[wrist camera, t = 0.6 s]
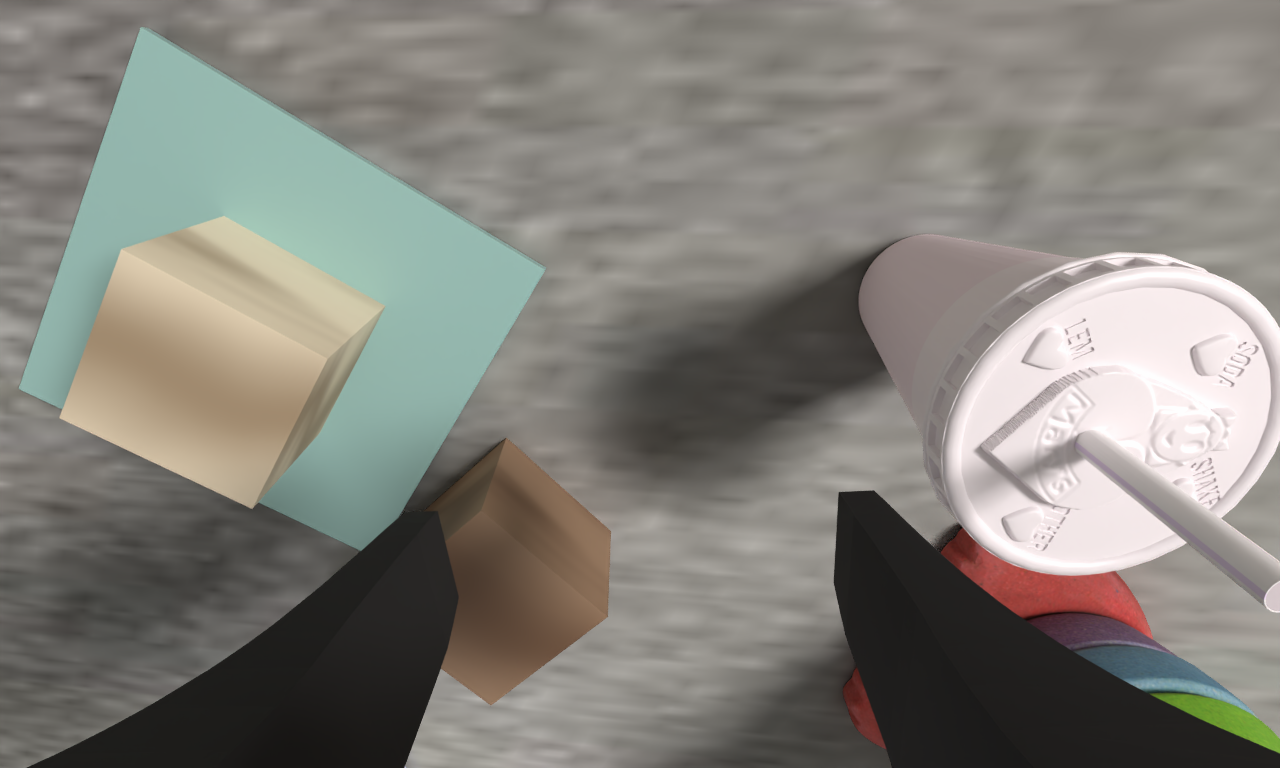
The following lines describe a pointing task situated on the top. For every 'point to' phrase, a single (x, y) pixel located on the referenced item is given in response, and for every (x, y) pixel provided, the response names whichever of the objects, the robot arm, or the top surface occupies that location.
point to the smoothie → (1082, 401)
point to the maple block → (218, 356)
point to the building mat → (315, 232)
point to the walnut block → (518, 571)
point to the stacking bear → (1089, 640)
